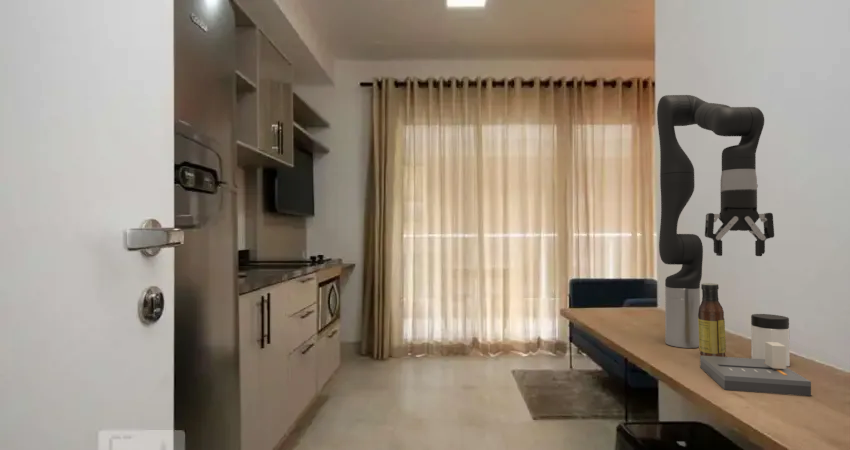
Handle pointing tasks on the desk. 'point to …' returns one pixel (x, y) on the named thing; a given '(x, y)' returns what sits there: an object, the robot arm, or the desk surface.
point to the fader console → (753, 376)
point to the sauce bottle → (711, 323)
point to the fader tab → (775, 355)
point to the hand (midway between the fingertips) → (738, 255)
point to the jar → (768, 334)
